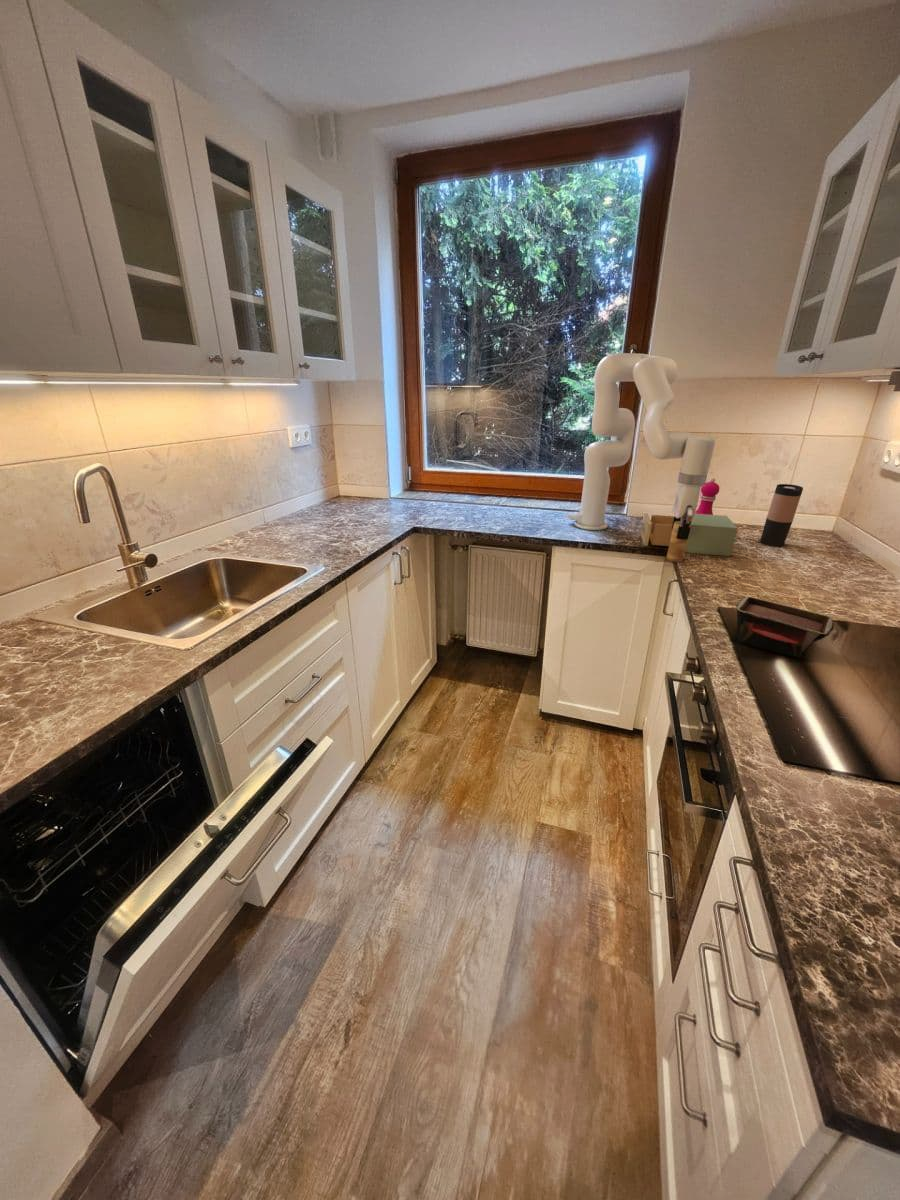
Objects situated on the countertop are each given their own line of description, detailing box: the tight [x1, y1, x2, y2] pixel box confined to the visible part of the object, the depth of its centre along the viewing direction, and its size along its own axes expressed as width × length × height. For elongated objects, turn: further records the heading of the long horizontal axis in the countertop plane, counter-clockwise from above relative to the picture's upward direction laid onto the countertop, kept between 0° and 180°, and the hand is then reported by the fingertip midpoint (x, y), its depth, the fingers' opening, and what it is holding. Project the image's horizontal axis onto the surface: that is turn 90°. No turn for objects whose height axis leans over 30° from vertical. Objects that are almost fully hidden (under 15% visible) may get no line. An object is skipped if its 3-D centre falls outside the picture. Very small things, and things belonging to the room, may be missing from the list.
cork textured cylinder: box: [666, 521, 687, 563], centre depth 149 cm, size 5×5×12 cm
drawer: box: [630, 512, 675, 547], centre depth 164 cm, size 18×13×8 cm
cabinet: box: [684, 514, 738, 557], centre depth 160 cm, size 15×15×10 cm
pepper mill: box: [695, 477, 721, 515], centre depth 174 cm, size 7×7×20 cm
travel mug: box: [760, 483, 804, 547], centre depth 162 cm, size 8×8×20 cm
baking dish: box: [736, 596, 835, 659], centre depth 104 cm, size 14×18×10 cm
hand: (679, 534), depth 148 cm, fingers open, 9 cm apart
